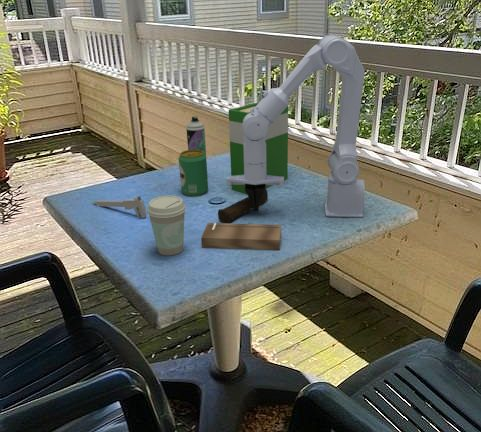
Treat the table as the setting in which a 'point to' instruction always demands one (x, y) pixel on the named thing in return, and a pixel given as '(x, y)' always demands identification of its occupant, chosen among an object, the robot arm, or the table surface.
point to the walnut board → (241, 236)
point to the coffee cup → (168, 223)
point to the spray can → (196, 135)
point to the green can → (193, 172)
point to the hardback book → (273, 138)
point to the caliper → (126, 205)
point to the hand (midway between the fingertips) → (256, 210)
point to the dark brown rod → (238, 208)
